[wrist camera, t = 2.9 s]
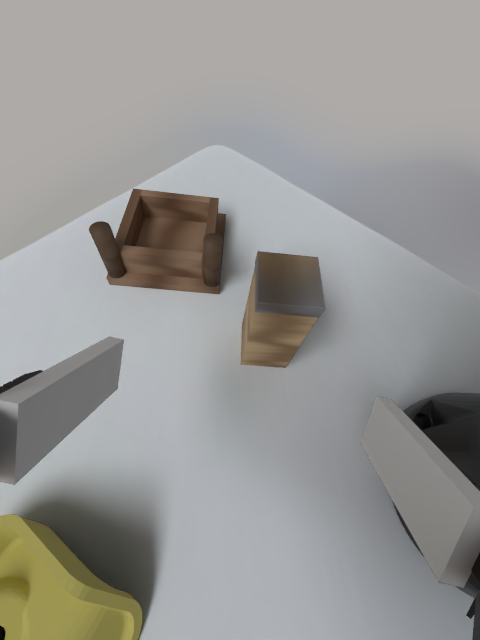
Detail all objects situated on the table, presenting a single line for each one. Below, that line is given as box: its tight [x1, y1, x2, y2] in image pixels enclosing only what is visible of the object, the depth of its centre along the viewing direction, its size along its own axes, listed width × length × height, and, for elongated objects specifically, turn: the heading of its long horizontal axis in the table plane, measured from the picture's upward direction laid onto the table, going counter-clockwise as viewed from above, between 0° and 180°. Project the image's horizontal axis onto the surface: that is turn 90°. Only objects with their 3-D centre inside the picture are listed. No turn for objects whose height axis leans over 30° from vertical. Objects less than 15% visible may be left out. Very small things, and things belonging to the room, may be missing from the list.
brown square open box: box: [89, 189, 226, 294], centre depth 32 cm, size 12×12×7 cm
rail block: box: [241, 251, 325, 368], centre depth 25 cm, size 5×5×11 cm
